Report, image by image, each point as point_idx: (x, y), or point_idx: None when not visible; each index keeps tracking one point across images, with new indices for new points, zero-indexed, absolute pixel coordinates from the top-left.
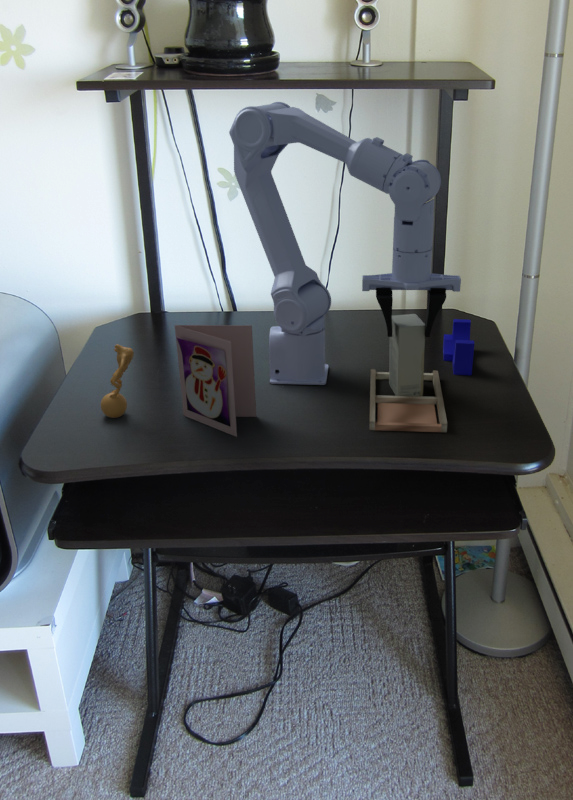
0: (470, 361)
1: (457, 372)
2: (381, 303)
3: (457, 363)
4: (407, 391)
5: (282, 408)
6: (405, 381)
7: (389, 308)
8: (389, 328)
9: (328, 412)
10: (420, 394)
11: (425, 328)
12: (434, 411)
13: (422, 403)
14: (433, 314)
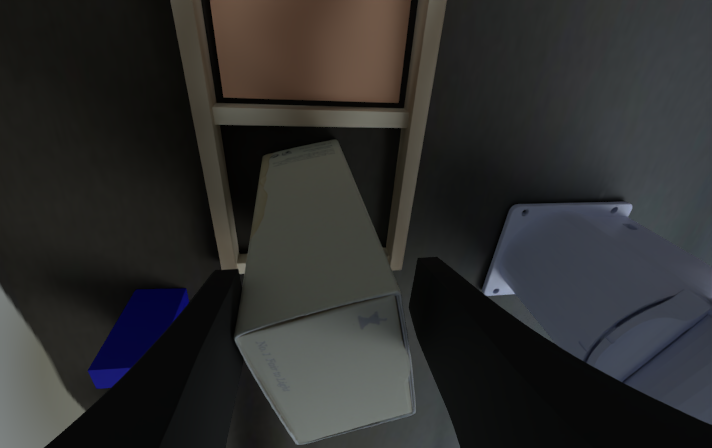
0: (124, 320)
1: (173, 293)
2: (705, 434)
3: (167, 312)
4: (310, 150)
5: (652, 66)
6: (320, 161)
7: (565, 396)
8: (456, 282)
9: (545, 39)
10: (269, 155)
11: (235, 320)
12: (218, 37)
13: (262, 104)
14: (130, 399)
